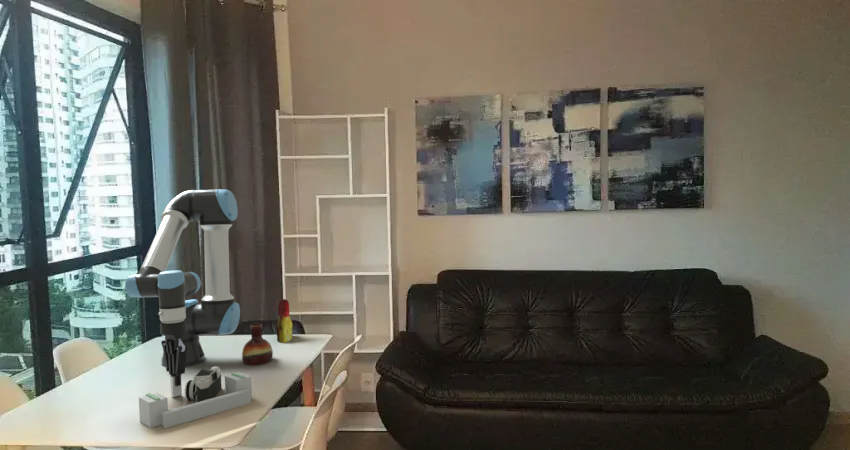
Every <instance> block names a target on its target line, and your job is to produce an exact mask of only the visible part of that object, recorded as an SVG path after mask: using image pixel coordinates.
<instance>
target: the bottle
mask: <svg viewBox="0 0 850 450" xmlns="http://www.w3.org/2000/svg"><path fill="white" fill-rule="evenodd" d="M277 314H278V321H277V322H276V341H277V343H280V344H285V343H288V342H289V341H291V340H292V338H293V322H292V320H291V317H290V302H289V301H288V299H285V298H282V299H280V300H279V302H278V308H277Z"/></svg>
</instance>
